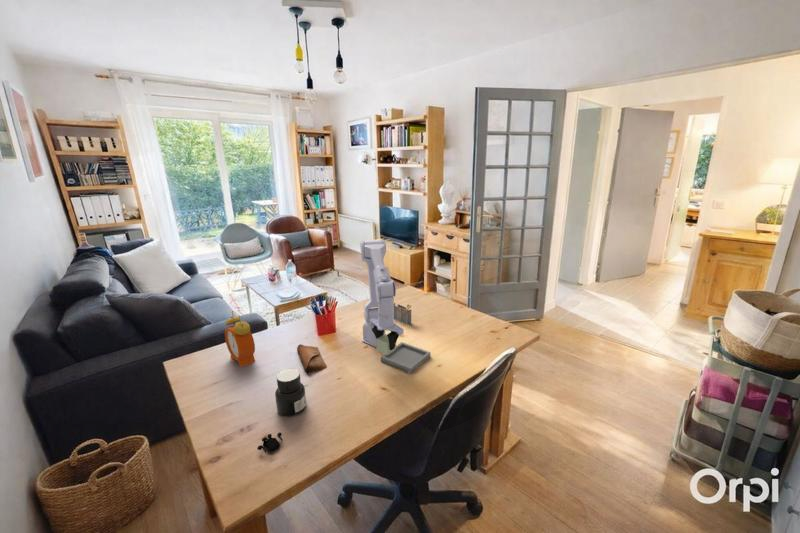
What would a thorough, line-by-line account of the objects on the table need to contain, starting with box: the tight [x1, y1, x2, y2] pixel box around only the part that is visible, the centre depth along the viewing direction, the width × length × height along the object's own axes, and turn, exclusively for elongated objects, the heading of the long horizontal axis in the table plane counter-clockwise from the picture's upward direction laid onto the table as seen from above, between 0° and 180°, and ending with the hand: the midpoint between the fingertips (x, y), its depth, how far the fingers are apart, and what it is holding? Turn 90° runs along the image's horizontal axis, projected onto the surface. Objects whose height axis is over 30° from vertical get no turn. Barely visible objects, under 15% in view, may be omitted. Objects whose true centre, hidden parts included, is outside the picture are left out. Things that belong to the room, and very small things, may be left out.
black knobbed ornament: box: [256, 432, 284, 454], centre depth 94 cm, size 7×2×5 cm
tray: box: [380, 341, 431, 374], centre depth 135 cm, size 14×14×2 cm
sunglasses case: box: [296, 344, 328, 374], centre depth 134 cm, size 18×7×7 cm
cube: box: [376, 333, 397, 355], centre depth 127 cm, size 5×5×5 cm
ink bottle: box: [274, 368, 307, 418], centre depth 107 cm, size 10×9×12 cm
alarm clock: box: [224, 310, 256, 368], centre depth 132 cm, size 13×6×20 cm, turn 47°
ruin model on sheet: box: [394, 302, 412, 326], centre depth 167 cm, size 11×3×10 cm, turn 44°
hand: (386, 346), depth 128 cm, fingers closed on cube, 5 cm apart
